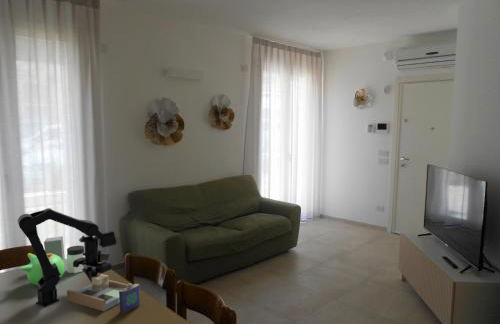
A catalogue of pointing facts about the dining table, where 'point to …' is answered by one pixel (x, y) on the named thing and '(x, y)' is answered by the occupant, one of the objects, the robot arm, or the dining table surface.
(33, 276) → the toy bird
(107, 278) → the block
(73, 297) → the box
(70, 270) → the jar
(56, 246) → the skincare box
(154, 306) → the dining table surface
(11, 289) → the dining table surface
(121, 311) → the blue green box
